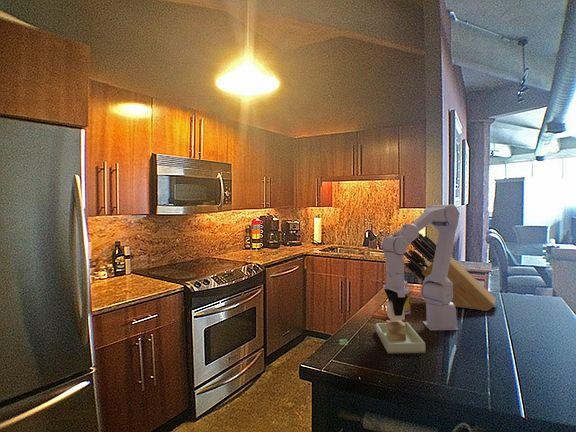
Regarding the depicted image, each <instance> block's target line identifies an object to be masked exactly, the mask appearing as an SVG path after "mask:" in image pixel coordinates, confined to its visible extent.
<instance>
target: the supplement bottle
mask: <svg viewBox="0 0 576 432" xmlns="http://www.w3.org/2000/svg"><path fill="white" fill-rule="evenodd" d="M404 285H405V290H404V291H405V294H407V295H408V298H407V300H406V302H405V304H404V312H405V316H406V315H410V314H411V312H412V311H411V309H412V307H411V303H412V302H411V289H410V287H408V281H406V280H404Z"/></svg>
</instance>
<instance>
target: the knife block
mask: <svg viewBox="0 0 576 432" xmlns="http://www.w3.org/2000/svg"><path fill="white" fill-rule="evenodd" d="M410 245H411V246H412V247H413V248H414V249H415V250H416V251H415V250H412V249H409V250H407V251H408V252H407V251H406V252H405V253H404V257H405V258H406V259H407V260H408V261H409V262H408V263H406V264H405V268H407V269H409V271H411V272H412V273H413V274H414V275H415V276H417V278H419V279H420V280H421V281H423V282H424V279H425V277H427V276H428V275H430V274H431V272H432V267H433V262H434V256H435V251H436V246H437V243H435V242H434V241H433V240H432V239H431V238H429V237H428V236H427V235H423V234H422V233H420V232H419V236H418V237H417V238H416V239H415V240H414V241H412V242H411V243H410ZM423 257H424V258H425V259H424V258H423ZM426 261H428V262H429V263H430V265H428V264H427V263H426ZM447 278H448V279H449V280H450V281H451V282H452V283H453V299H452V301H451V302H453V303H454V305H455V308H464V309H473V310H479V311H480V312H481V311H482V312H485V311H486V312H487V311H489V310H491V309H492V308H494V307H495V305H496V302H497V298H496V297H495V296H494V294H492V293H491V292H490V291H489V290H488V289H487V288H485V287H484V285H482V283H480V282H479V280H477V279H476V278H475V277H474V276H473V275H472V274H471V273H470V272H469V271H468V270H466V268H464V267H463V266H462V265H461V264H460V263H459V262H458V261H457V260H456V259H455V258H453V256H451V259H450V265H449V270H448V275H447ZM435 284H440V285H442V284H441V283H435Z"/></svg>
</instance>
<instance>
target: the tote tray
mask: <svg viewBox="0 0 576 432" xmlns="http://www.w3.org/2000/svg"><path fill="white" fill-rule="evenodd" d="M403 323H404V324H405V325H406V340H403V341H390V339H389V338H388V336H387V327H386V322H378V323H377V322H376V323H375V332H376V335H377V336H378V338H379V340H380V342H381V343H382V346H383V348H384V349H385V351H386V352H387V354H393V355H394V354H426V349H427V348H426V342H425V341H424V339H422V337H421V336H420V335H419V334H418V333H417V332H416V330H415V329H414V328H413V327H412V325H411V324H410V323H409V322H403Z"/></svg>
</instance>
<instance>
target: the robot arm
mask: <svg viewBox="0 0 576 432" xmlns="http://www.w3.org/2000/svg"><path fill="white" fill-rule="evenodd" d="M423 209H424V211H423V212H422V214H420V215H419V216H418V217H417V218H416V219H415V220H414V221H413V222H412V223H403V224H402V226H401V227H400V228H399V229H398V230H397V231H394V232H393V234H392V235H388V236H386V237H384V239H382V243H381V245H380V248H381V250H382V252H383V256H384V258H385V281H386V283H385V284H384V285H382V288H383V289H384V292H385V294H386V298H387V299H388V300H387V301H392V304H393V309H394V314H395V316H402V313H403V308H404V304H405V302H406V300H407V298H408V295H407V294H405V291H404V290H405V285H404V281H405V261H404V259H405V255H404V253H405V252H407V251H408V247H409V246H410V245H411V242H412V241H414V240H415V239H416V238H418V236H419V233H420V231H422V230H423V229H424V228H426V227H427V226H429V225H430V224H431V226H433V228H435V229H436V230H437V231H438V237H437V241H436V251H435V256H434V259H433V260H434V262H433V267H432V272H431V274H430V275H428V276H427V277H425V279H424V280H423V282H422V284H421V286H420V295H421V297H422V298H423V301H424V302H425V309H426V310H425V311H426V314H425V315H426V320H425V321H424V320H423V321H422V324H424V326H425V327H426V328H427V329H428V330H429V331H432V332H433V331H458V329H459V328H458V326H457V325H458V324H457V309H456V308H457V307H456V306H455V305H454V303H453V302H451V301H452V299H453V283H452V282H451V281H450V280H449V279H448V278H447V275H448V270H449V265H450V259H451V257H452V253H453V248H454V241H455V237H456V232H457V229H458V223H459V220H460V219H459V218H460V215H461V214H460V211H459V209H458V207H457V206H456V205H455V204H452V203H451V204H430V205H428V206H427V207H425V208H423ZM435 283H441V284H442V285H440V284H435Z"/></svg>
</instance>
